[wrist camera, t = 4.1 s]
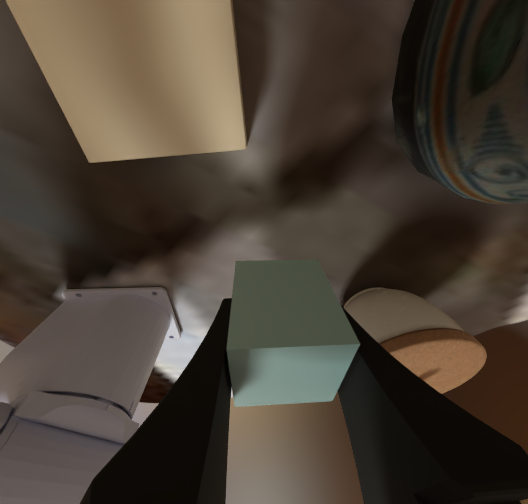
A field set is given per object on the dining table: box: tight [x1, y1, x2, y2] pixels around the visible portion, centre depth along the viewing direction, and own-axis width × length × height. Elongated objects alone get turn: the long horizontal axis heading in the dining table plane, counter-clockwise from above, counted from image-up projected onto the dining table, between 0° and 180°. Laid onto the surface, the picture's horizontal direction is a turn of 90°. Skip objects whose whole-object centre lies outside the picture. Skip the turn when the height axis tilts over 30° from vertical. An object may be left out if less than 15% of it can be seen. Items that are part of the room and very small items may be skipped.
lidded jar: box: [343, 287, 487, 394], centre depth 19 cm, size 11×11×9 cm
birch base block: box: [6, 0, 247, 163], centre depth 9 cm, size 8×8×4 cm
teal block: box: [227, 260, 360, 407], centre depth 10 cm, size 4×4×5 cm
